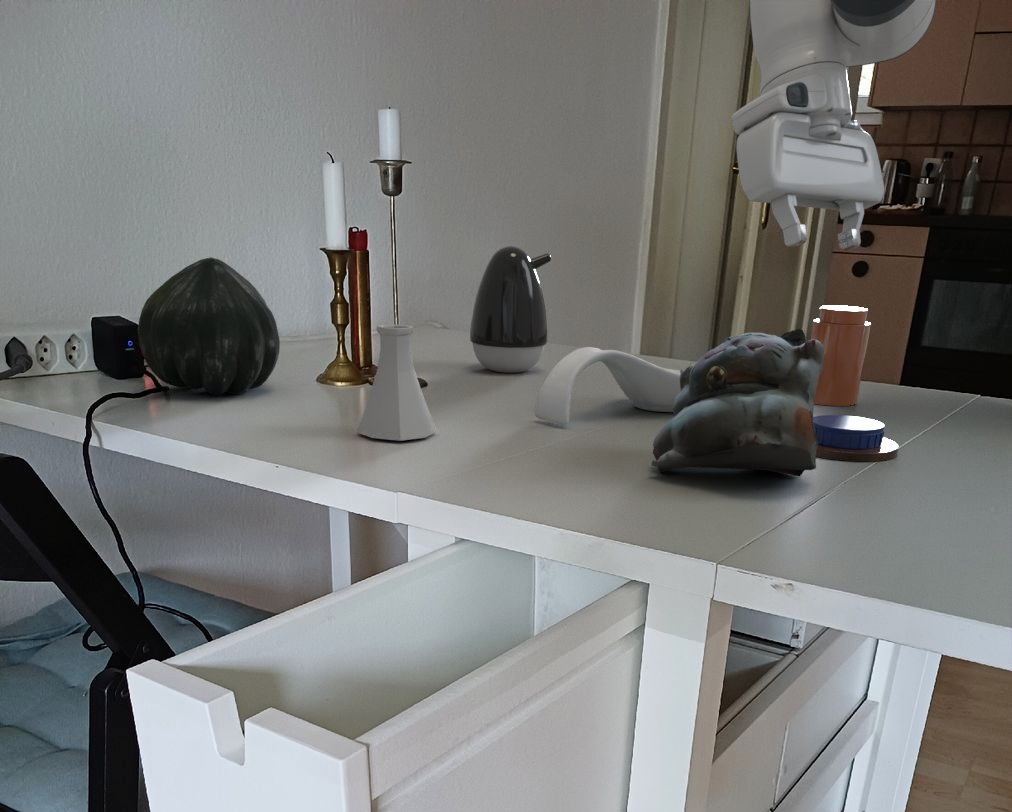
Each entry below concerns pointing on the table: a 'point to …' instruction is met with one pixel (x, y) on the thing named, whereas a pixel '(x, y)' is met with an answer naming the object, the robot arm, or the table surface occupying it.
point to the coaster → (859, 452)
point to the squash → (209, 330)
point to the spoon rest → (631, 373)
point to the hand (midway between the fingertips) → (824, 246)
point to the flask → (396, 392)
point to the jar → (841, 353)
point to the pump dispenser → (510, 312)
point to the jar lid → (848, 431)
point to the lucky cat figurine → (746, 407)
